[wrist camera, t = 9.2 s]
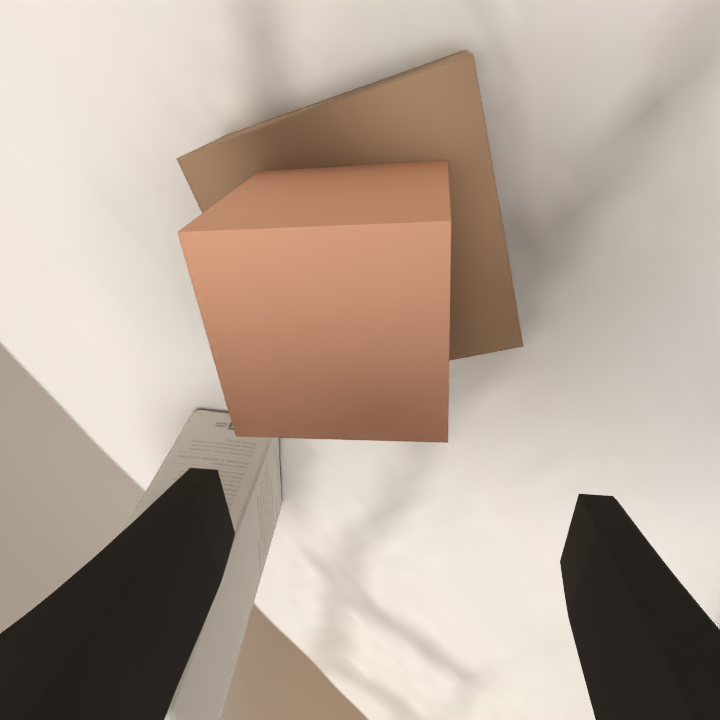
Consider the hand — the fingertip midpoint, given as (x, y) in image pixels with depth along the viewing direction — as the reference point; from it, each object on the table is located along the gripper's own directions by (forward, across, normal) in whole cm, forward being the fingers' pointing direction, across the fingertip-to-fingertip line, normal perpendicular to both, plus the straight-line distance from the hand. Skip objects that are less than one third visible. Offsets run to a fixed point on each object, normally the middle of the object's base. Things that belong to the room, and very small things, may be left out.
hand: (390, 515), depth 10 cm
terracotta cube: (+7, +1, -3) cm, 7 cm away
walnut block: (+11, +1, -3) cm, 11 cm away
